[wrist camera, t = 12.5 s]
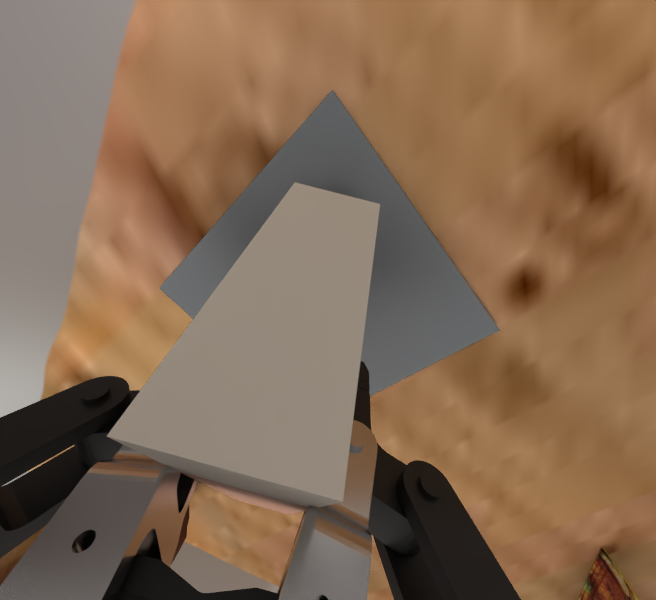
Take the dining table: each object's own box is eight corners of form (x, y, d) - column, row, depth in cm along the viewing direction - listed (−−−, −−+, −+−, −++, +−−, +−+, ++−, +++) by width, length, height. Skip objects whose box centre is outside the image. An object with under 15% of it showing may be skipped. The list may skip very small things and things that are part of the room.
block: (236, 499, 13) (106, 436, 3) (283, 367, 19) (294, 182, 8) (290, 514, 13) (342, 501, 3) (321, 377, 19) (380, 203, 8)
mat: (334, 93, 12) (332, 89, 11) (495, 325, 16) (499, 329, 15) (165, 284, 18) (159, 288, 17) (313, 419, 22) (311, 425, 21)
